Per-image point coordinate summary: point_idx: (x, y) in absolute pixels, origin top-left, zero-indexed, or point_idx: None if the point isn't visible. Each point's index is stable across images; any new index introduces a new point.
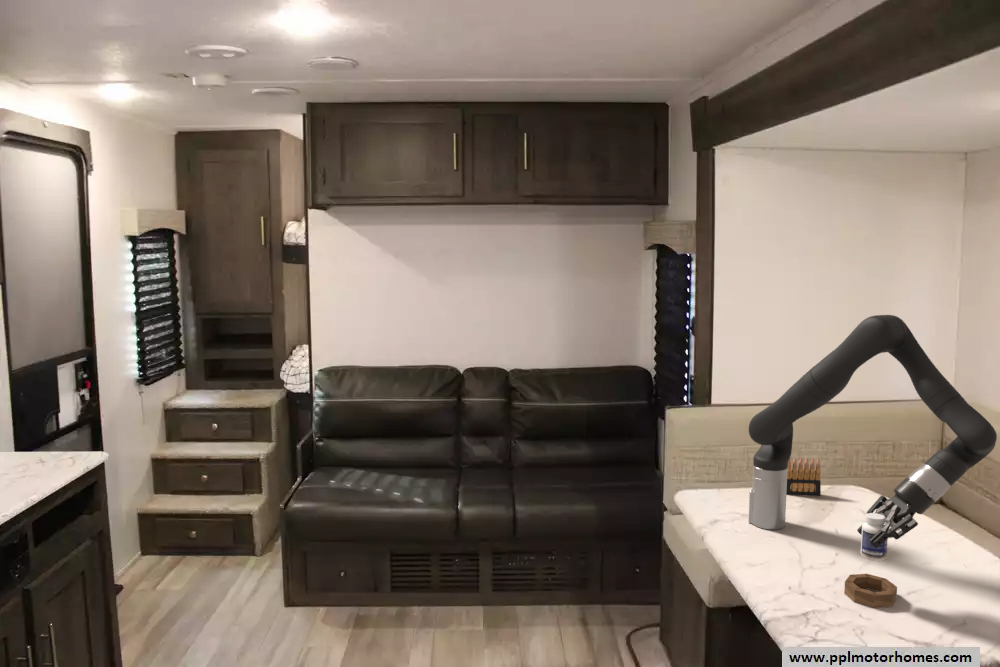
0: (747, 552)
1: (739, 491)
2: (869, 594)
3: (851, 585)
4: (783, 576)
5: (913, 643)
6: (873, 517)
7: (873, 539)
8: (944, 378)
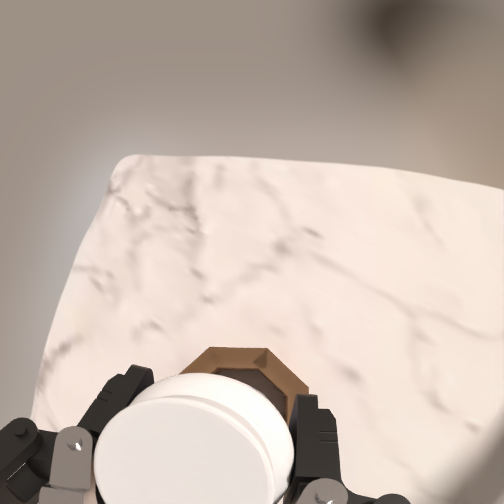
0: (471, 223)
1: None
2: (180, 373)
3: (237, 352)
4: (370, 245)
5: (45, 357)
6: (141, 439)
7: (123, 379)
8: None
